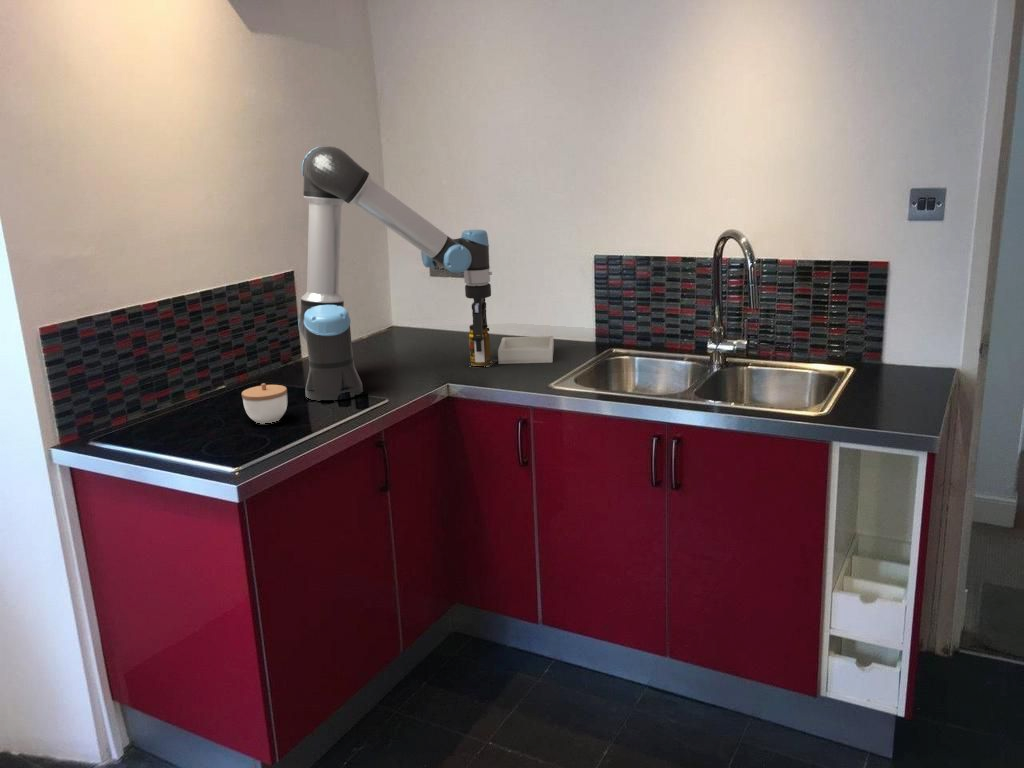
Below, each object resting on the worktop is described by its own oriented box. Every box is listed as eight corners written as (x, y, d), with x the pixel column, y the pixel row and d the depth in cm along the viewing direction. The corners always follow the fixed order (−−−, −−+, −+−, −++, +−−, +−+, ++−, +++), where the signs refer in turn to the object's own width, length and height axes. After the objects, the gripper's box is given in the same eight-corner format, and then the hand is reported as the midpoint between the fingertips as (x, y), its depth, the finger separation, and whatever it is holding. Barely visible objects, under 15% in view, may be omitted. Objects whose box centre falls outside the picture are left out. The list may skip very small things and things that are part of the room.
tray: (498, 363, 265) (497, 350, 264) (503, 350, 282) (502, 337, 281) (552, 362, 264) (552, 349, 263) (553, 348, 281) (553, 336, 280)
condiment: (465, 366, 264) (462, 327, 260) (476, 360, 271) (474, 321, 268) (488, 367, 261) (486, 327, 258) (498, 360, 269) (496, 321, 266)
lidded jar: (236, 423, 219) (231, 386, 216) (272, 411, 227) (267, 376, 225) (263, 430, 212) (258, 392, 210) (299, 418, 221) (295, 381, 218)
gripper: (486, 289, 249) (491, 366, 254) (493, 277, 271) (497, 348, 276) (460, 290, 249) (464, 367, 255) (469, 278, 271) (473, 349, 277)
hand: (481, 357), depth 266 cm, fingers open, 10 cm apart
